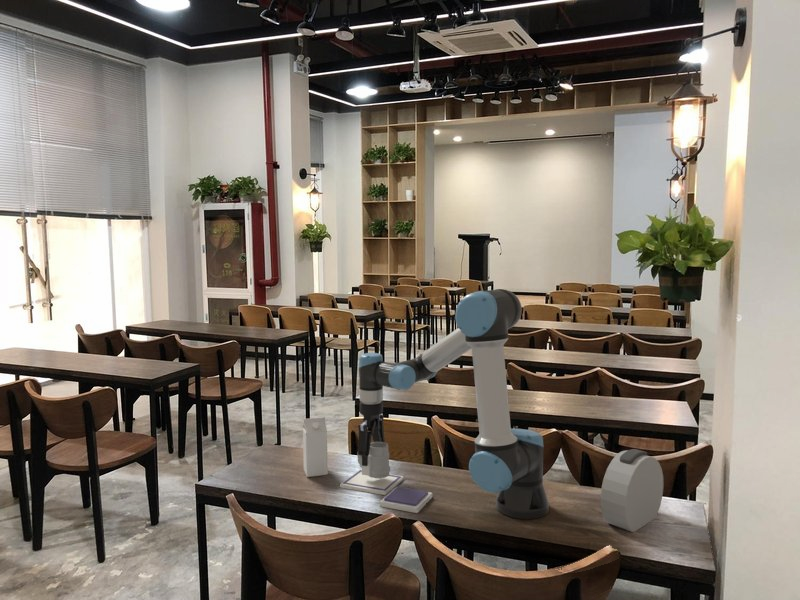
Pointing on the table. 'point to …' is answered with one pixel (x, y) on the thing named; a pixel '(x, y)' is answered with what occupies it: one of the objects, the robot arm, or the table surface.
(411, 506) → the ink pad
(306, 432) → the milk carton
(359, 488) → the board
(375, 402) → the robot arm
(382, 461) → the mug
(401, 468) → the table surface
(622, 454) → the alarm clock
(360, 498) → the table surface
